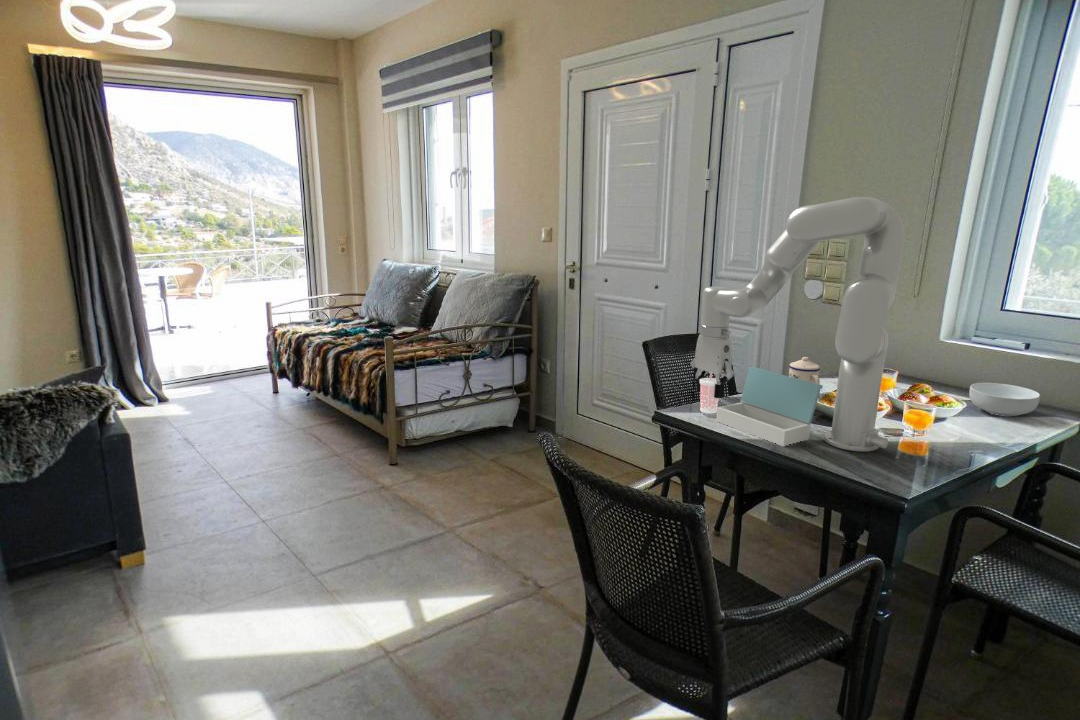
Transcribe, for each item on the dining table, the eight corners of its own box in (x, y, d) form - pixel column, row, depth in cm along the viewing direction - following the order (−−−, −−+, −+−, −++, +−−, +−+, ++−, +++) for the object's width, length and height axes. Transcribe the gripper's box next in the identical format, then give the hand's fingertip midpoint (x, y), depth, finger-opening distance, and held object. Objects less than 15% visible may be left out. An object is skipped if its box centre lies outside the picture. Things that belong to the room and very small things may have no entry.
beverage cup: (721, 409, 184) (724, 362, 181) (717, 415, 179) (721, 366, 175) (699, 406, 187) (702, 359, 183) (695, 412, 181) (698, 364, 178)
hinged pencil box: (808, 439, 163) (810, 424, 163) (783, 446, 158) (784, 431, 157) (740, 415, 182) (742, 402, 181) (715, 421, 176) (717, 407, 176)
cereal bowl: (963, 401, 199) (966, 379, 197) (1028, 409, 191) (1033, 386, 190) (970, 416, 184) (974, 393, 182) (1041, 426, 177) (1047, 401, 175)
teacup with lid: (780, 389, 208) (784, 354, 206) (804, 388, 211) (808, 353, 208) (803, 400, 197) (808, 363, 194) (829, 398, 199) (833, 362, 197)
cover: (808, 424, 162) (811, 424, 163) (819, 384, 161) (822, 385, 162) (740, 401, 180) (743, 402, 181) (749, 366, 179) (753, 366, 180)
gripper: (748, 335, 172) (742, 400, 176) (701, 325, 186) (697, 385, 191) (728, 338, 168) (723, 404, 172) (682, 328, 183) (678, 389, 187)
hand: (709, 393), depth 181 cm, fingers closed on beverage cup, 6 cm apart
